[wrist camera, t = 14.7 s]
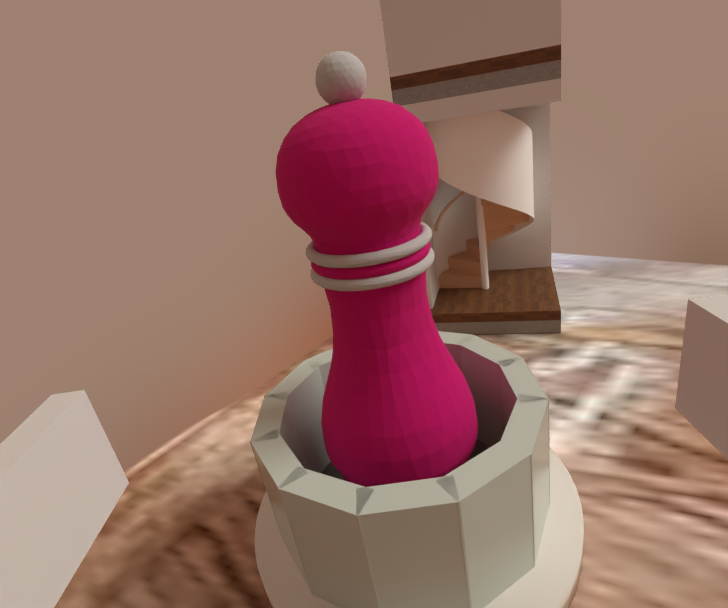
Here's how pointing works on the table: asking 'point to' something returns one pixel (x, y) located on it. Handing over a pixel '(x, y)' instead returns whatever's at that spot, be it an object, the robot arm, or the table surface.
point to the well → (419, 505)
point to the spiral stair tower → (484, 153)
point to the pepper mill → (375, 282)
